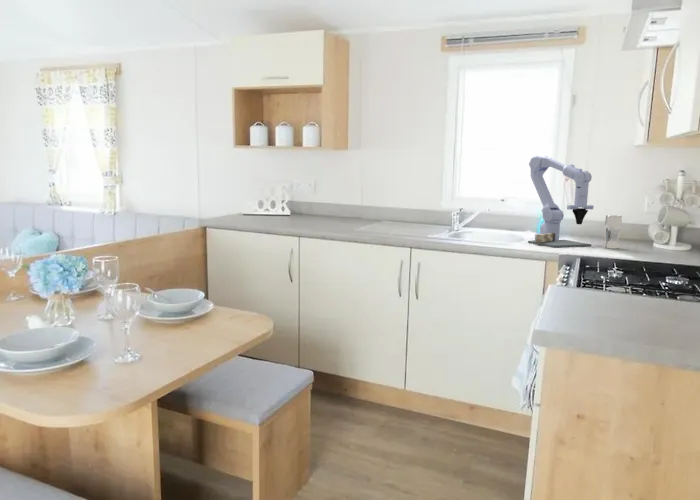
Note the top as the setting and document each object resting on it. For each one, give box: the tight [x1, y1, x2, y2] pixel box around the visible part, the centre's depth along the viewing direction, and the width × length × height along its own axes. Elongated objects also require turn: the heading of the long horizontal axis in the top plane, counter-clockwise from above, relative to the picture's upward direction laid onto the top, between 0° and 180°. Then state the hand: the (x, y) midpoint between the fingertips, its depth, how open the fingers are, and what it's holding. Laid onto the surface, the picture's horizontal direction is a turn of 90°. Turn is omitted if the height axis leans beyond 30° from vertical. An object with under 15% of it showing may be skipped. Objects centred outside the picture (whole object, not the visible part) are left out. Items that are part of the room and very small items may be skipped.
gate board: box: [527, 233, 592, 249], centre depth 263 cm, size 18×22×5 cm
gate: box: [537, 233, 555, 243], centre depth 265 cm, size 16×2×4 cm, turn 134°
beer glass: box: [603, 214, 623, 250], centre depth 253 cm, size 7×7×15 cm
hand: (579, 224), depth 269 cm, fingers closed
